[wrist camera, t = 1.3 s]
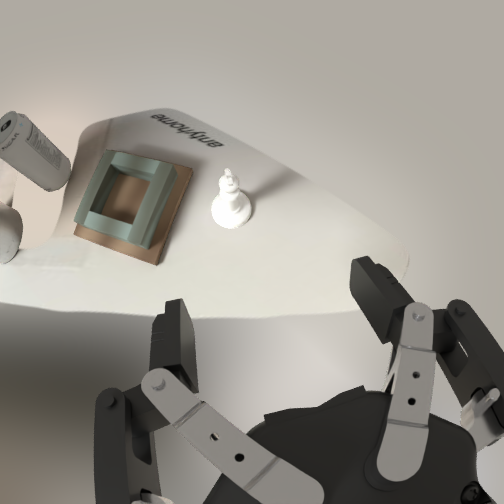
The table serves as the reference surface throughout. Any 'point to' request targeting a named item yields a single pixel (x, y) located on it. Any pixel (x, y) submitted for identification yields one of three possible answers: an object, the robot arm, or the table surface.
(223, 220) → the chess piece
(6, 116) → the energy drink can
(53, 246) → the table surface
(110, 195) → the socket board
